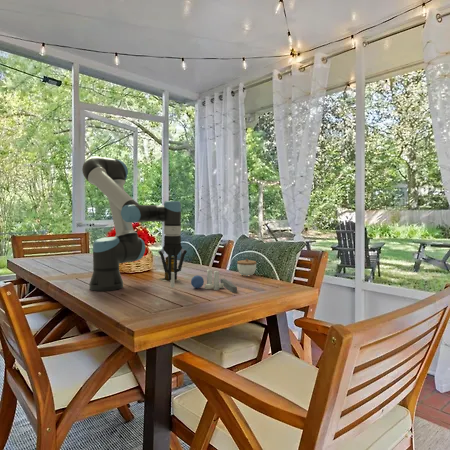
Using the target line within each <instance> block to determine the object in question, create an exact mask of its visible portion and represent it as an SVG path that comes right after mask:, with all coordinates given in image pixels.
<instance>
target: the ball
mask: <svg viewBox="0 0 450 450" xmlns="http://www.w3.org/2000/svg"><path fill="white" fill-rule="evenodd" d="M204 282H205V280H204V278H203V277H202V276H201V275H194V276H192V278H191V280H190V285H191V287H193V288H194V289H201V288H202V287H203V285H205V283H204Z"/></svg>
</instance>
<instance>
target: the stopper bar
mask: <svg viewBox="0 0 450 450" xmlns="http://www.w3.org/2000/svg"><path fill="white" fill-rule="evenodd" d="M220 283H223V284H224V288H226V289H227V290H228V291H230V293H231V294H233V293H234V294H235V293H238V287H237V286H236V285H234V283H232V282H230V281H229V280H227V279H225V278H220Z"/></svg>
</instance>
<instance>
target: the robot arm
mask: <svg viewBox="0 0 450 450" xmlns="http://www.w3.org/2000/svg"><path fill="white" fill-rule="evenodd" d="M81 169H82V170H81V171H82V174H83V176H84V179H86V181H87V182H89V184H91V185H93V186H95V187H96V188H97V189H98V190H99V191H100V192H101V193H102V194H104V196H105V197H106V198H107V199H108V202H109V208H110V212H111V217H112V223H113V225H114V230H115V231H114V232H115V236H109V237H107V236H106V237H105V236H104V237H100V238H98V239H95V240H94V242H93V244H92V262H93V263H92V270H93V271H92V274H91V278H90V281H89V285H88V286H89V287H88V288H89V290H91V291H93V292H94V291H95V292H107V291H109V292H110V291H115V290H120V289H122V288H123V287H124V280H123V277H122V275H121V273H120V264H125V263H134V262H137V261H140V260H141V259H142V258H143V257H144V254H145V253H146V243H145V241H144V240H143V239H142V238H141V237H139V235H138V232H137V231H135V230H134V227H133V223H135V224H136V223H146V222H147V223H148V222H149V223H150V222H163V226H164V227H163V228H164V229H163V235H164V237H163V238H164V239H163V247H162V248H161V249H160V250H158V251H157V252H158V255H160V260H161V263H162V267H163V271H164V273H165V272H168V279H169V280H170V281H169V282H170V288H175V285H176V284H175V281H178V280H177V279H178V272H181V271H182V267H183V264H184V259H185V255H186V254H187V252H188V251H187V249H184V248H183V246H182V236H181V235H182V204H181V201H178V200H165V201H164V203H163V205H162V204H161V205H159V204H140V203H138V202H136V201H135V200H134V198H133V197H132V196H131V195H129V193H127V192H126V191H125V188H124V186H125V184H126V180H127V178H128V175H129V171H128V166H127V165H126V163H125V162H124V161H122V159H118V158H110V157H104V156H103V157H102V156H97V155H96V156H91V157H89V158H87V159H86V160H84V163H83V164H82V168H81ZM179 253H180V256H179V257H180V258H179V262H178V255H179ZM164 254H166V255H167V257H168V269H167V267H166V263H165V262H166V261H165V260H166V258H165V255H164ZM172 256H174V272H171V258H172Z"/></svg>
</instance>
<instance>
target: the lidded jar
mask: <svg viewBox="0 0 450 450" xmlns="http://www.w3.org/2000/svg"><path fill="white" fill-rule="evenodd" d="M256 269H257V261H256V260H250V259H248V258H245V259H243V260H237V271H238V272H239V274H240V275H241V276H242V275H246V276H245V277H249V276H248V275H252V276H253V275H254V274H255V272H256Z"/></svg>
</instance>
